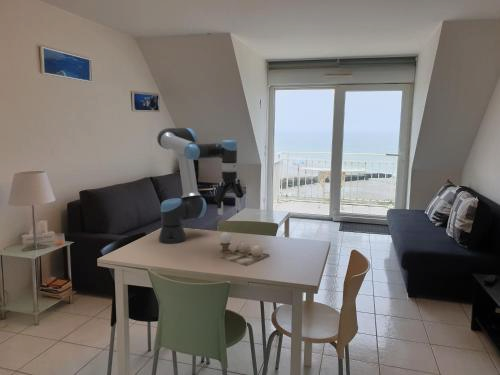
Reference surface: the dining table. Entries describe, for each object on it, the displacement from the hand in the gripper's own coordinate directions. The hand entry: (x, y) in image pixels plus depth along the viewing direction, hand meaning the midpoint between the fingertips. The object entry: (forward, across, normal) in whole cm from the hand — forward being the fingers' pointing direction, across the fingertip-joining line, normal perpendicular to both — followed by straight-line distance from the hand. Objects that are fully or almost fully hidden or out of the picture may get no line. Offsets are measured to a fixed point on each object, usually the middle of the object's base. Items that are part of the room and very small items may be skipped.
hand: (229, 212), depth 204 cm
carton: (+21, -3, -13) cm, 25 cm away
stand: (+21, -2, +1) cm, 21 cm away
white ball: (+17, -2, +1) cm, 17 cm away
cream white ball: (+20, +1, -17) cm, 27 cm away
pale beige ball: (+20, +1, -9) cm, 22 cm away
